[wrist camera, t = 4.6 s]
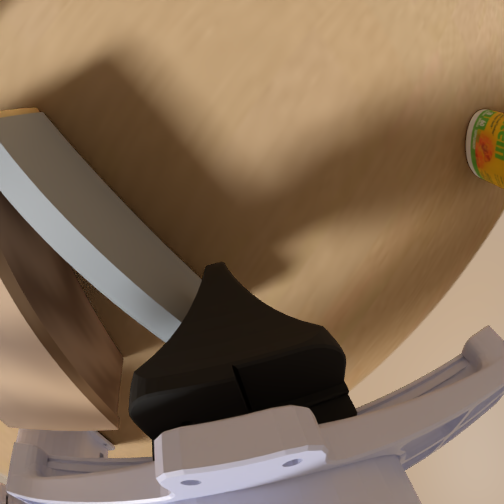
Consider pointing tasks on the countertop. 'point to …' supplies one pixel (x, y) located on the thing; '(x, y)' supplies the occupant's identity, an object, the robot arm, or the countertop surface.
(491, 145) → the supplement bottle
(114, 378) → the walnut cabinet
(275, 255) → the countertop surface
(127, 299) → the cabinet door
